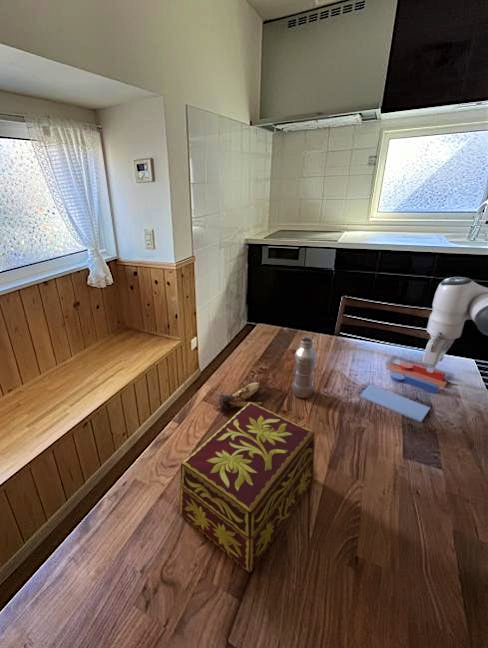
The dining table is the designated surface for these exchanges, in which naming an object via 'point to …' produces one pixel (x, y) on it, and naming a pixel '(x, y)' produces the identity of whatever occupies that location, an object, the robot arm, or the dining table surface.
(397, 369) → the terracotta mat
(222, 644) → the dining table surface
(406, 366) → the red spoon
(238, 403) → the worn brush
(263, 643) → the dining table surface
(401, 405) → the blue mat
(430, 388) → the blue spoon
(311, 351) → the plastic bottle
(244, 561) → the decorative box
